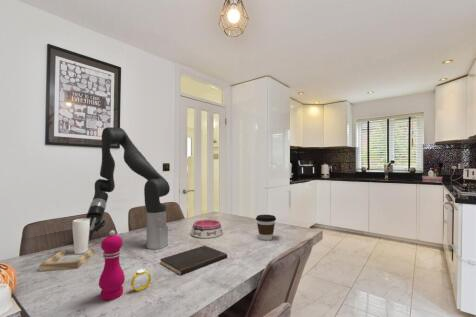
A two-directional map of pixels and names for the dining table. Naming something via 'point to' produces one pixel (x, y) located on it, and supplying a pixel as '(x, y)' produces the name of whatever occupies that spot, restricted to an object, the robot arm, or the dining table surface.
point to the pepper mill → (111, 268)
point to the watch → (140, 274)
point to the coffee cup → (266, 226)
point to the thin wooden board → (51, 264)
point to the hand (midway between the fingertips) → (87, 238)
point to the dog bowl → (206, 229)
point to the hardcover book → (193, 259)
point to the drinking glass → (81, 235)
